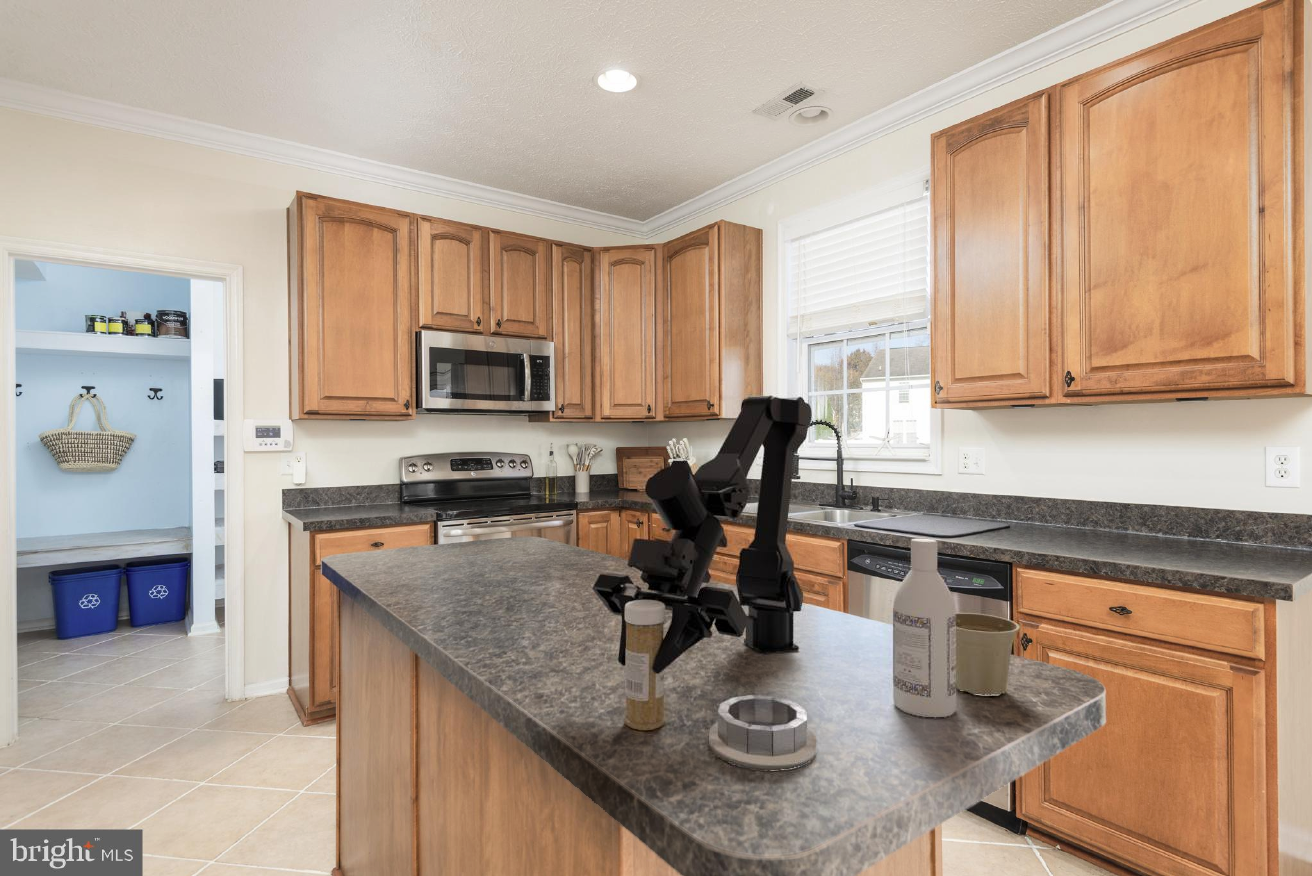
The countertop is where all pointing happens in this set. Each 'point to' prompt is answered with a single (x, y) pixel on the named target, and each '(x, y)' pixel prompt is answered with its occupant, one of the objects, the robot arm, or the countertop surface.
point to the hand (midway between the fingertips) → (637, 667)
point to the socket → (762, 733)
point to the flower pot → (983, 652)
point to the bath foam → (924, 638)
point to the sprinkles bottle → (644, 664)
